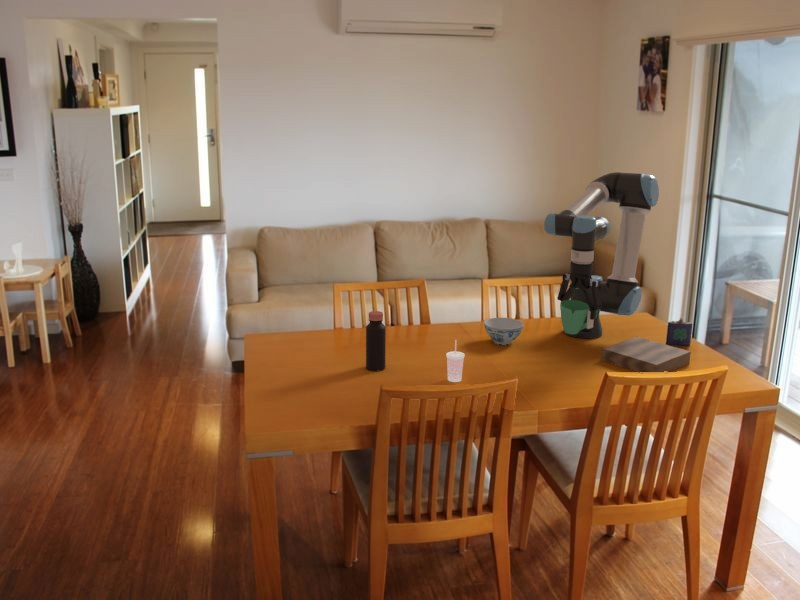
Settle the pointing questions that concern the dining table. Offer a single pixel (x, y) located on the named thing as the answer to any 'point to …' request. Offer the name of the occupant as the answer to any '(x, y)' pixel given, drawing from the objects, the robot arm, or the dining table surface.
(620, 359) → the walnut box
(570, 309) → the mug
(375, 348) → the bottle
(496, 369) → the dining table surface
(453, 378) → the beverage cup
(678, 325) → the flask
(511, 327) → the chinaware
